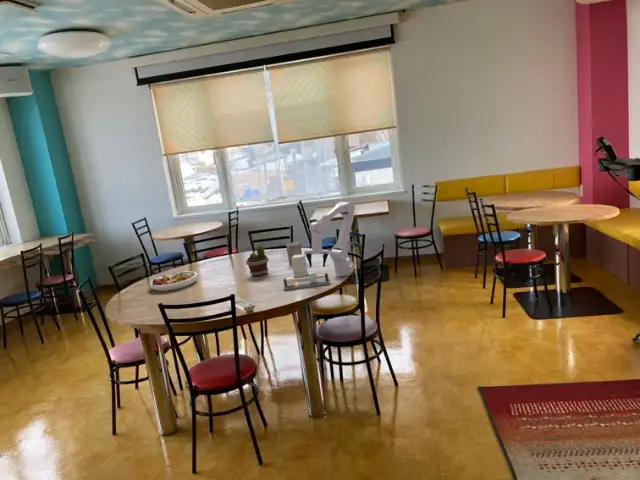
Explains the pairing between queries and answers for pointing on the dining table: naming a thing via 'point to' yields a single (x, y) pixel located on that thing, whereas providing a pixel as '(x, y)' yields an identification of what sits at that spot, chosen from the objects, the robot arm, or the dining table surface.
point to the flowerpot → (258, 262)
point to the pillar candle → (293, 250)
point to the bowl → (174, 281)
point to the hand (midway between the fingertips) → (317, 266)
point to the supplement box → (299, 265)
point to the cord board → (305, 282)
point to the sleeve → (312, 276)
